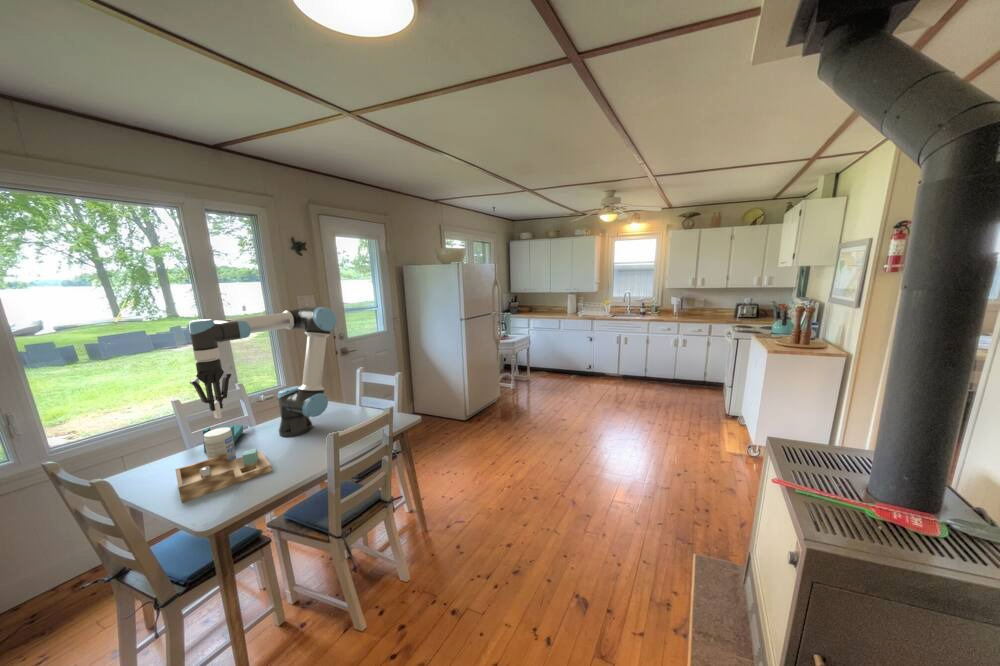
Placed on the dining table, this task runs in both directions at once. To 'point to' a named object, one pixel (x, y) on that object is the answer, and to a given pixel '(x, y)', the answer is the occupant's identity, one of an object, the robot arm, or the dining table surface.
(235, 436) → the teal l-shaped bracket
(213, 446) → the supplement tub
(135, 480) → the dining table surface
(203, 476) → the silver metal knob
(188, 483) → the wooden tray
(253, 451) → the cube
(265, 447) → the dining table surface
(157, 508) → the dining table surface
